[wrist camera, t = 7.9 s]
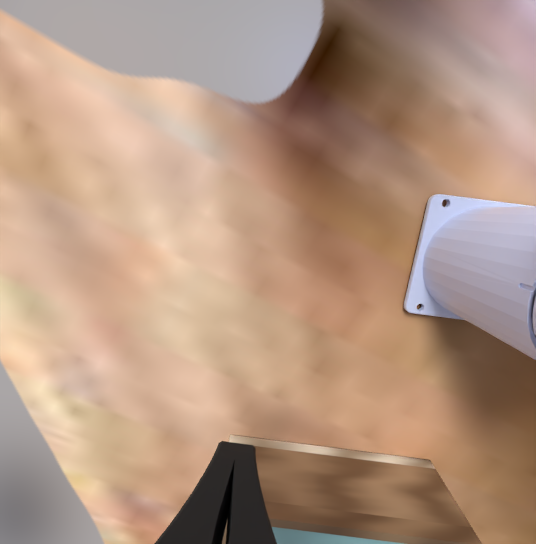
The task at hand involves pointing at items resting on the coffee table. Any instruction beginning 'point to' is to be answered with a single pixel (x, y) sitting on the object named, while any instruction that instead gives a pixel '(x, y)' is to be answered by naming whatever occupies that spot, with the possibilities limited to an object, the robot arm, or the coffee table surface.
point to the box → (356, 494)
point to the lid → (318, 538)
